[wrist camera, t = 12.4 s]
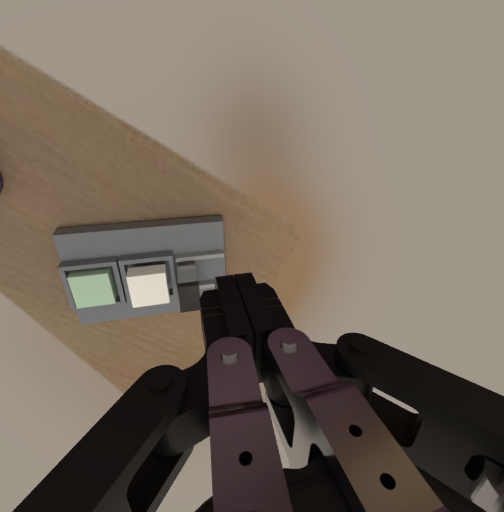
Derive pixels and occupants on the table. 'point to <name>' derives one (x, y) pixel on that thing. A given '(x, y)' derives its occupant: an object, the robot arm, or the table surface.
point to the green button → (93, 287)
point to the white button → (148, 285)
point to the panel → (141, 258)
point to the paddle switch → (188, 286)
